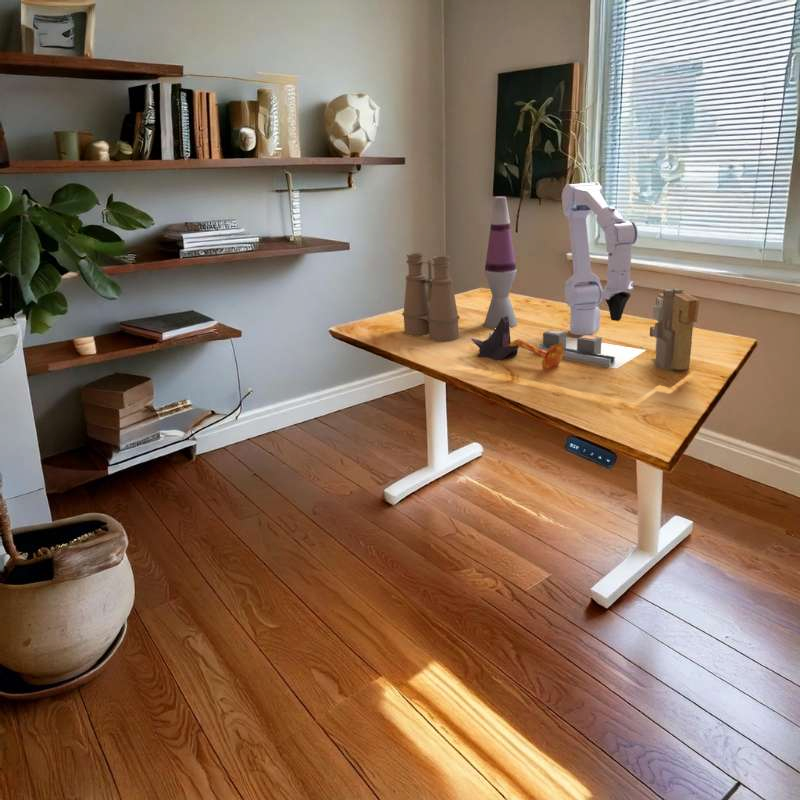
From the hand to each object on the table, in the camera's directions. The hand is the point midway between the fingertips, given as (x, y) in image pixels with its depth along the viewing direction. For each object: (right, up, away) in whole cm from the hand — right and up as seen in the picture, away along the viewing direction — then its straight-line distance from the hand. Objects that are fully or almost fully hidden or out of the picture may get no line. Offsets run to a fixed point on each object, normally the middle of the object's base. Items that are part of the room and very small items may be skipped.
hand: (615, 320), depth 185 cm
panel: (-7, -9, +5) cm, 12 cm away
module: (-7, -10, +1) cm, 12 cm away
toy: (+11, -14, -9) cm, 20 cm away
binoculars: (-48, -1, +32) cm, 58 cm away
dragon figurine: (-26, -12, +2) cm, 29 cm away
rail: (-12, -10, -1) cm, 16 cm away
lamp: (-25, +3, +39) cm, 46 cm away
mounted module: (-15, -8, +7) cm, 18 cm away
